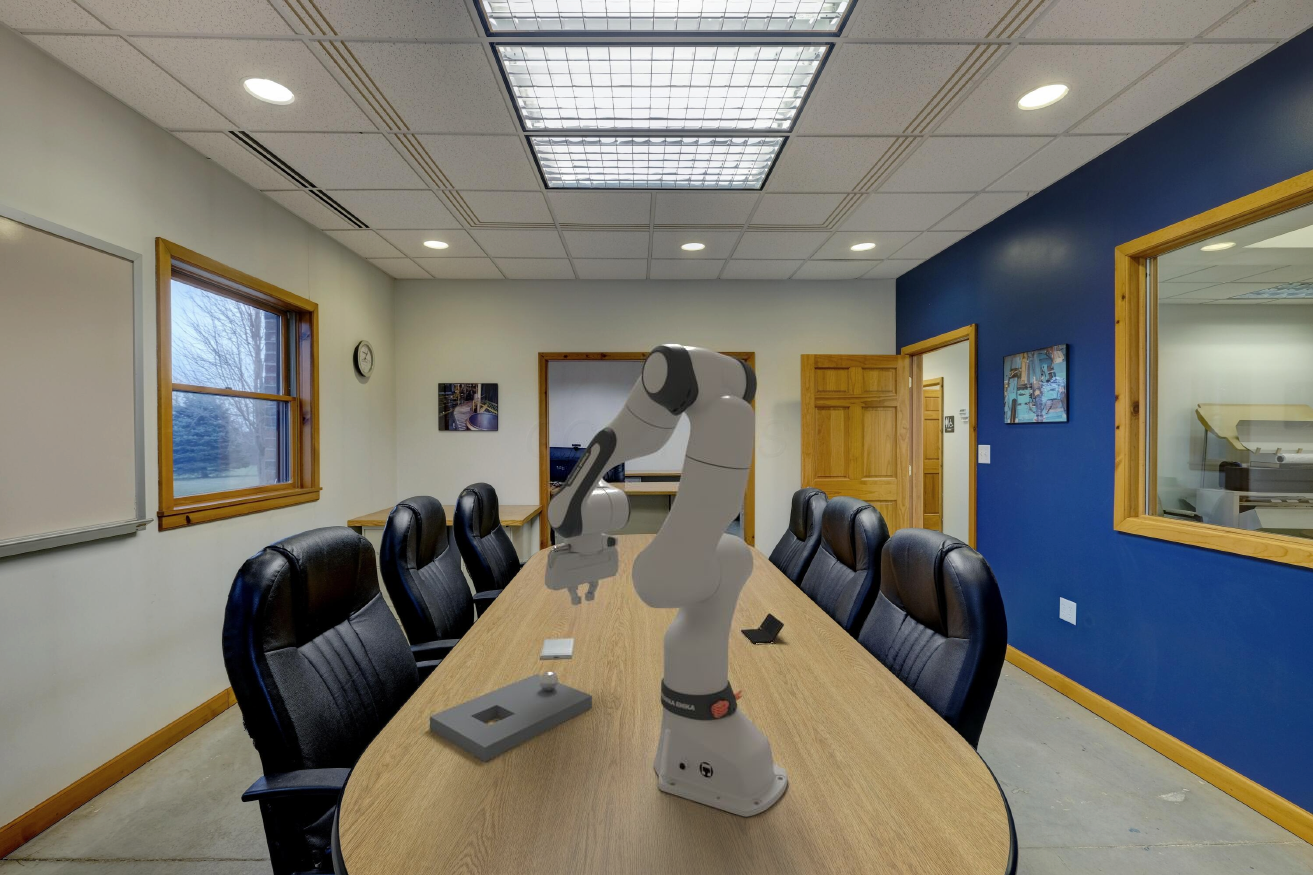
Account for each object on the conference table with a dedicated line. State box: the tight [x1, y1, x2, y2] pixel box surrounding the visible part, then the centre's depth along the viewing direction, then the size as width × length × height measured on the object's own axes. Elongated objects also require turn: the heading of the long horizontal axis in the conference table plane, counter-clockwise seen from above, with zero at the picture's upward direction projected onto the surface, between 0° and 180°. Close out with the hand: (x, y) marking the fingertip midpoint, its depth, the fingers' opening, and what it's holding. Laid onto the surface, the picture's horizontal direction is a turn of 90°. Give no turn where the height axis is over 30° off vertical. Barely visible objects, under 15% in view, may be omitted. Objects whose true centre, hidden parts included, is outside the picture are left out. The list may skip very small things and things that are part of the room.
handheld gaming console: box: [740, 613, 785, 645], centre depth 160 cm, size 12×7×10 cm
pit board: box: [429, 673, 593, 763], centre depth 111 cm, size 18×26×2 cm
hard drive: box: [539, 638, 575, 660], centre depth 149 cm, size 2×8×12 cm
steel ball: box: [539, 670, 559, 691], centre depth 119 cm, size 4×4×4 cm
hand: (583, 602), depth 127 cm, fingers open, 3 cm apart
